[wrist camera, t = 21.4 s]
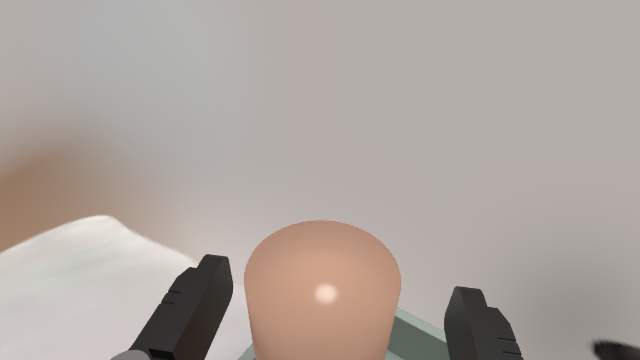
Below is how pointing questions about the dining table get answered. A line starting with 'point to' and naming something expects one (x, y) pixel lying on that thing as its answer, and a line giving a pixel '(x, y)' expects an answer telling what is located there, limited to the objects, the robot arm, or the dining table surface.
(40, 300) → the dining table surface
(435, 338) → the tray
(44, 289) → the dining table surface
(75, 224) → the dining table surface
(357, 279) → the terracotta cylinder
